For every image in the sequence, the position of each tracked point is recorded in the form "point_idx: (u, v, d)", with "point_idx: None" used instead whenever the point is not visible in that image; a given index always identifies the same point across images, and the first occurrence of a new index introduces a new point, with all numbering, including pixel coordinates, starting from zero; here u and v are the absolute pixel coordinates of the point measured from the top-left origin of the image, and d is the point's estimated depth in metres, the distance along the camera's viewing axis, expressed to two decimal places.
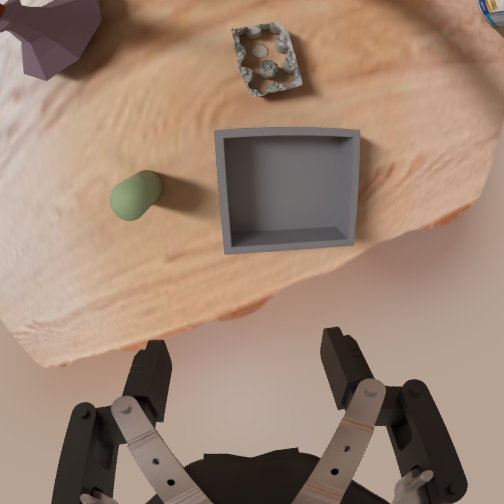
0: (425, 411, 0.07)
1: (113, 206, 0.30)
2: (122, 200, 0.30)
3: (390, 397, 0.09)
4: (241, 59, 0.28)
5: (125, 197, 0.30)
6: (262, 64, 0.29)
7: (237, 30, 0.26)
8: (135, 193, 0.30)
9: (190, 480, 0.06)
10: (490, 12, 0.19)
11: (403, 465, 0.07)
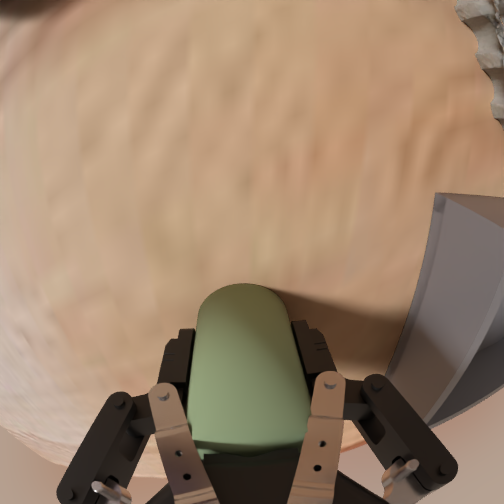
0: (392, 404, 0.08)
1: None
2: None
3: (351, 391, 0.09)
4: None
5: (245, 450, 0.08)
6: None
7: None
8: (285, 444, 0.07)
9: (206, 478, 0.06)
10: None
11: (383, 458, 0.07)
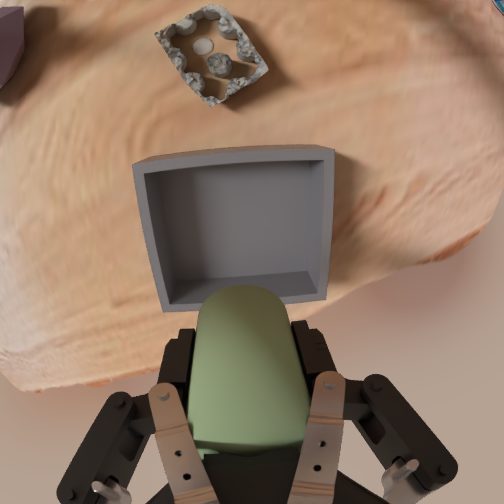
0: (392, 404, 0.08)
1: None
2: None
3: (351, 391, 0.09)
4: (180, 65, 0.21)
5: (245, 451, 0.08)
6: (208, 61, 0.21)
7: (163, 32, 0.19)
8: (285, 445, 0.08)
9: (206, 478, 0.06)
10: None
11: (383, 458, 0.07)
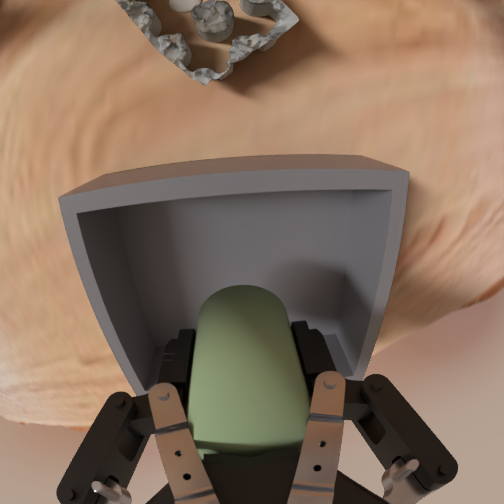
0: (392, 404, 0.08)
1: None
2: None
3: (351, 391, 0.09)
4: (147, 24, 0.10)
5: (245, 451, 0.08)
6: (195, 13, 0.10)
7: None
8: (285, 445, 0.08)
9: (206, 478, 0.06)
10: None
11: (383, 457, 0.07)
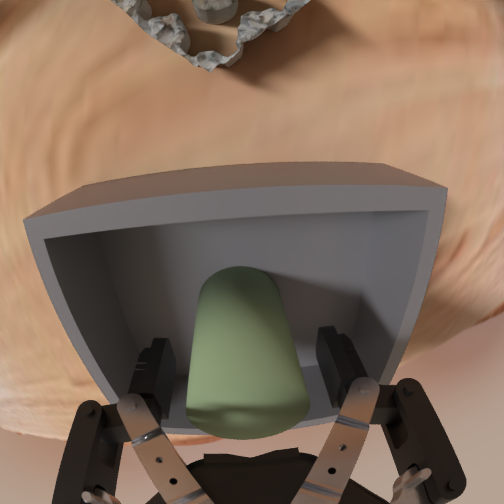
0: (420, 409, 0.07)
1: (197, 421, 0.10)
2: (227, 414, 0.09)
3: (384, 395, 0.09)
4: (134, 6, 0.08)
5: (242, 409, 0.09)
6: None
7: None
8: (277, 402, 0.09)
9: (193, 479, 0.06)
10: None
11: (400, 463, 0.07)
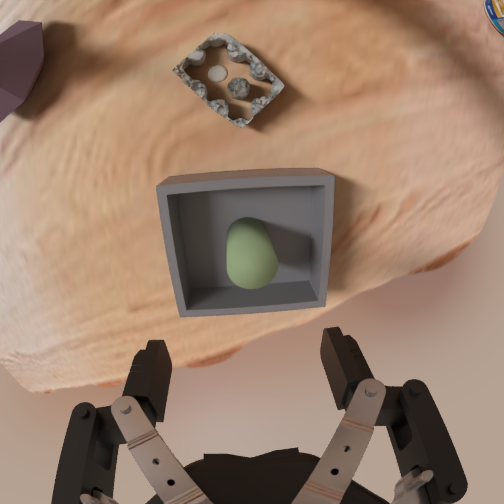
0: (425, 411, 0.07)
1: (230, 272, 0.27)
2: (244, 265, 0.27)
3: (390, 397, 0.09)
4: (204, 95, 0.25)
5: (250, 262, 0.26)
6: (229, 87, 0.25)
7: (179, 66, 0.23)
8: (264, 259, 0.26)
9: (190, 480, 0.06)
10: (498, 17, 0.16)
11: (403, 465, 0.07)
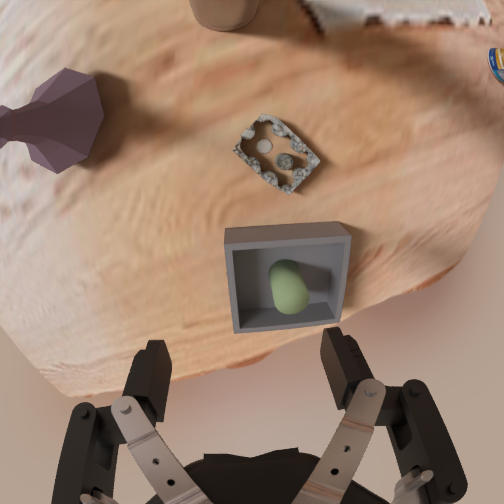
0: (425, 411, 0.07)
1: (276, 302, 0.38)
2: (286, 298, 0.38)
3: (390, 397, 0.09)
4: (259, 170, 0.36)
5: (291, 296, 0.38)
6: (278, 163, 0.36)
7: (237, 146, 0.34)
8: (300, 294, 0.38)
9: (190, 480, 0.06)
10: (499, 68, 0.26)
11: (403, 465, 0.07)
